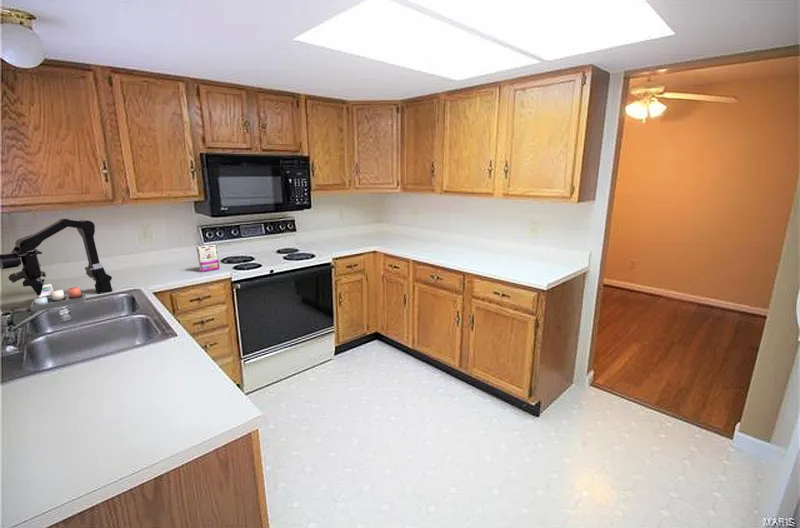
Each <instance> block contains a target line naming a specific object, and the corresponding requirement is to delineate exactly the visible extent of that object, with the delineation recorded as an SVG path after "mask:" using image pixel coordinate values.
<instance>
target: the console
mask: <svg viewBox="0 0 800 528" xmlns="http://www.w3.org/2000/svg"><path fill="white" fill-rule="evenodd" d="M64 296H65V298H64V299H61V300H53V299H52V297H51V298H47V300H48V303H41V304H35V302H34V300H32V303H31V304H30V306H29V309H30V311H31V312H36V311H43V310H49V309H53V308H60V307H67V306H71V305H72V306H73V305H79V304H84V303H86V299H87V296H86V292H81V296H79V297H73V298H70V296H69V294H68V295H64Z"/></svg>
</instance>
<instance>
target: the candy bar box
mask: <svg viewBox="0 0 800 528" xmlns="http://www.w3.org/2000/svg"><path fill="white" fill-rule="evenodd" d="M195 248H196V249H195V250H196V252H197V261H198V266H199V271H200V272H201V273H204V272H205V273H207V272H212V271H217V270H220V261H219V257H218V256H219V255H218V250H217V245H216V244H210V245H209V244H207V245H201V246H196V247H195Z"/></svg>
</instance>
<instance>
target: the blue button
mask: <svg viewBox="0 0 800 528" xmlns="http://www.w3.org/2000/svg"><path fill="white" fill-rule="evenodd" d="M47 299H48V298H47V297H39V298H36V297H35V298H34V299H33V301H34V302H35V304H41V303H48V300H47Z"/></svg>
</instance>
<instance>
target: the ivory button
mask: <svg viewBox="0 0 800 528" xmlns="http://www.w3.org/2000/svg"><path fill="white" fill-rule="evenodd" d="M51 296H52V297H51V298H52V299H53V300H61V299H64V298H65V296H66V295H65V293H64V290H63V289H55V290H53V291H52V292H51Z"/></svg>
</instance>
